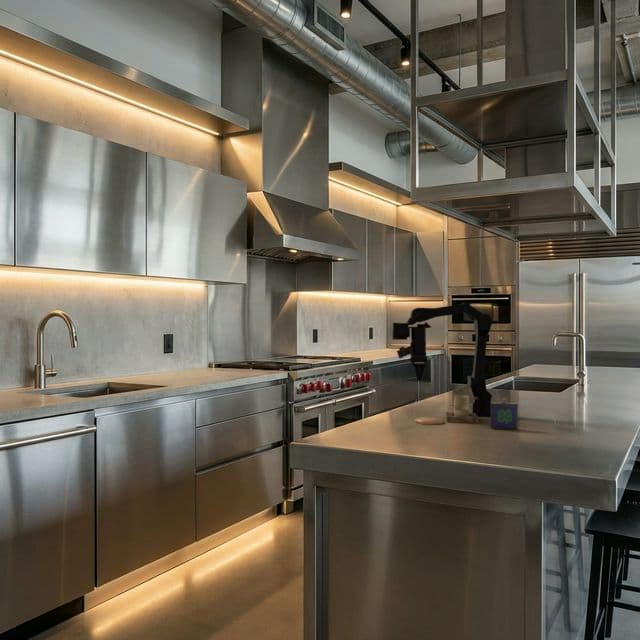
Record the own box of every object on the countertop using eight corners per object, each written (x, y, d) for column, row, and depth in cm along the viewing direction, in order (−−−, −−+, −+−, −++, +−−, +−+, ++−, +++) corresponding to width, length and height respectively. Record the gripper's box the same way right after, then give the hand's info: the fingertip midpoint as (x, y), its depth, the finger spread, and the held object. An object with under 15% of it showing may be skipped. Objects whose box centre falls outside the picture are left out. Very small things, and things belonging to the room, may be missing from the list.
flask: (516, 428, 214) (516, 397, 214) (519, 430, 211) (519, 398, 211) (489, 428, 215) (489, 397, 215) (491, 429, 212) (491, 398, 212)
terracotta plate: (442, 420, 230) (442, 417, 230) (444, 425, 220) (444, 422, 220) (415, 419, 231) (415, 417, 231) (415, 424, 221) (415, 421, 221)
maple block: (467, 419, 232) (468, 395, 232) (468, 421, 228) (469, 397, 228) (454, 419, 233) (454, 395, 233) (454, 421, 229) (455, 396, 229)
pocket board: (475, 418, 235) (475, 413, 235) (478, 423, 224) (478, 417, 224) (445, 417, 237) (445, 412, 237) (447, 422, 226) (447, 416, 226)
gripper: (398, 339, 255) (399, 377, 255) (397, 340, 236) (397, 381, 236) (426, 338, 253) (426, 377, 253) (426, 340, 235) (427, 381, 235)
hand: (418, 379), depth 244 cm, fingers open, 9 cm apart
